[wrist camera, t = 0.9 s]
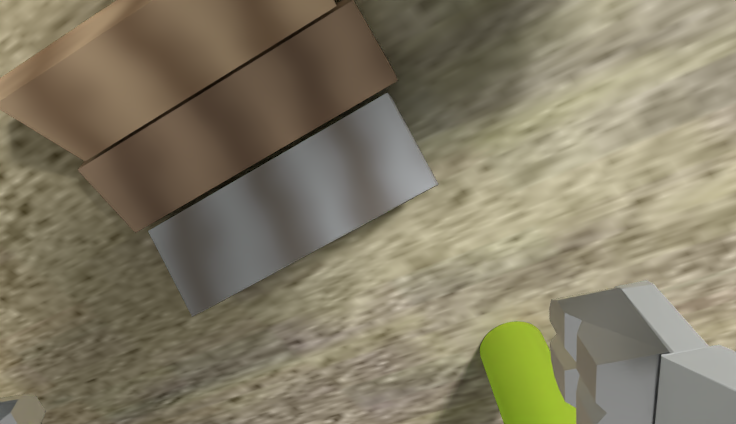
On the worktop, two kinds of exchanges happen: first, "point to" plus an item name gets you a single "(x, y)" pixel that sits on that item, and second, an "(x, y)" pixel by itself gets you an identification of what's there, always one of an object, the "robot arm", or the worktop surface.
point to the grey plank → (293, 205)
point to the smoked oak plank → (141, 64)
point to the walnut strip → (242, 117)
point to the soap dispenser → (523, 376)
